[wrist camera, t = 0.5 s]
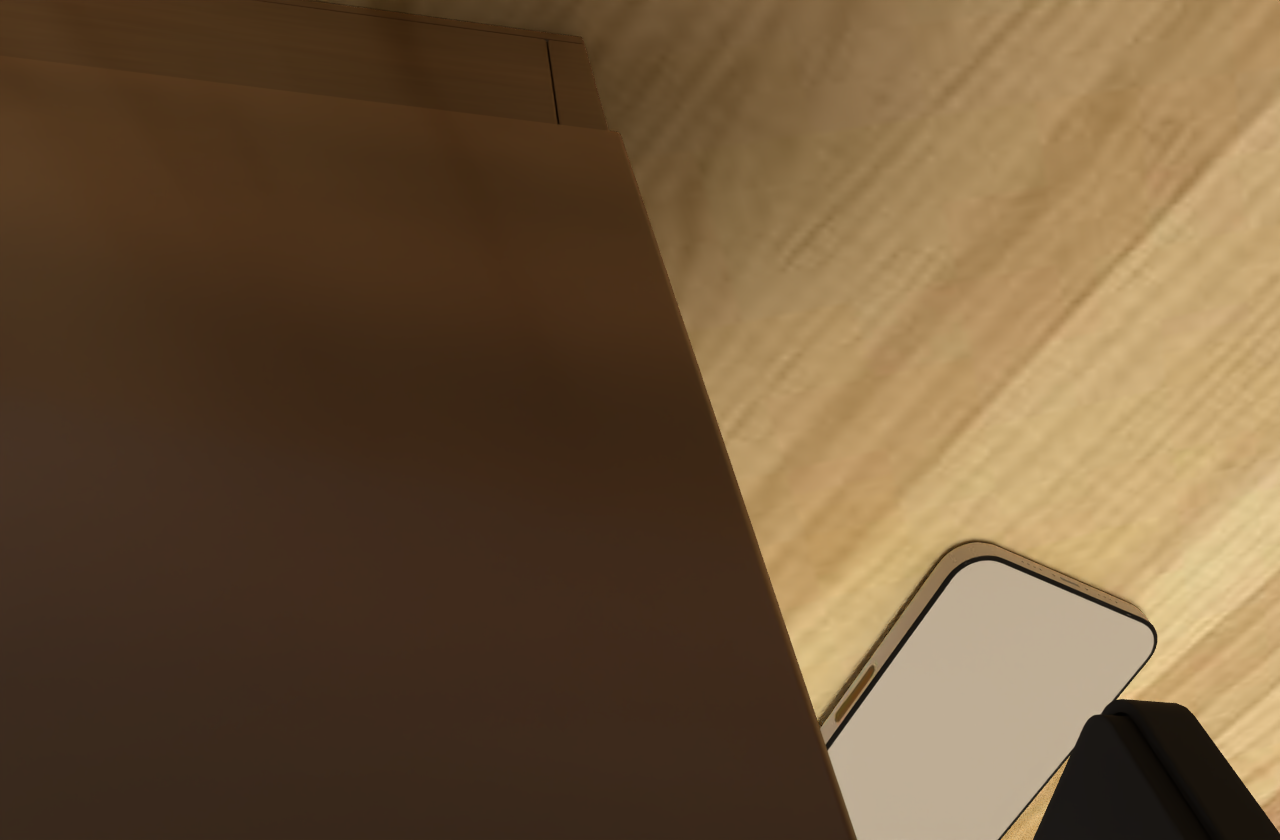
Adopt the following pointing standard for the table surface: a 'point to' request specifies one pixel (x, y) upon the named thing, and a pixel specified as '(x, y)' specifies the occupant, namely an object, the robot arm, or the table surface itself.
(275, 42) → the chest
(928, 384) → the table surface
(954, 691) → the smartphone
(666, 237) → the table surface
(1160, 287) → the table surface
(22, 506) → the lid
